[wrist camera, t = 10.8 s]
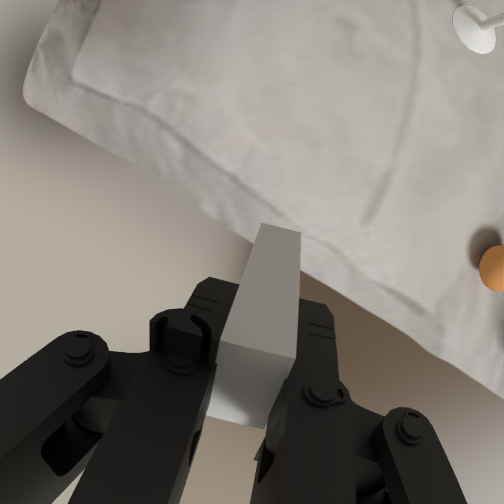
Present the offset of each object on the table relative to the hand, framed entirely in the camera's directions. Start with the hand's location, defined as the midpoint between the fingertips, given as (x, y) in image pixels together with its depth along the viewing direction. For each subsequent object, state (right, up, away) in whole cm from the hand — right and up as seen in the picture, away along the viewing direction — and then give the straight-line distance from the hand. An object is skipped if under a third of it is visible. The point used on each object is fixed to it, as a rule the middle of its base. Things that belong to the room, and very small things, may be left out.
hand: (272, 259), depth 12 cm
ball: (+31, -2, +20) cm, 37 cm away
